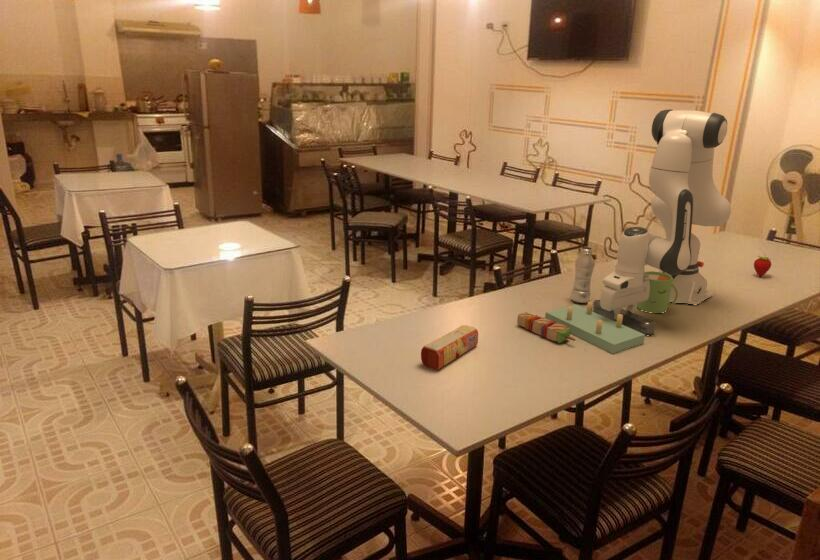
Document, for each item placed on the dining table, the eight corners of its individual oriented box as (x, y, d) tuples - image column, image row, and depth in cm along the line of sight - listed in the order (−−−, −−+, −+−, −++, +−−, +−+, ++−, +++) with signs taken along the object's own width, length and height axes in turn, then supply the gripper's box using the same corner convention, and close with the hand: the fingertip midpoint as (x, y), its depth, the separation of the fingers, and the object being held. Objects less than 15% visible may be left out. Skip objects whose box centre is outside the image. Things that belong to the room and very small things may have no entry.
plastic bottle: (573, 297, 221) (579, 244, 214) (591, 301, 218) (598, 247, 211) (567, 302, 216) (574, 248, 209) (586, 306, 212) (593, 252, 206)
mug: (633, 310, 210) (639, 278, 206) (638, 301, 219) (643, 269, 215) (673, 318, 204) (679, 284, 200) (676, 307, 213) (682, 275, 209)
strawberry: (747, 276, 247) (752, 252, 244) (756, 273, 251) (762, 250, 248) (762, 280, 243) (768, 256, 239) (771, 277, 247) (777, 253, 243)
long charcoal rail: (598, 309, 210) (600, 298, 209) (656, 334, 192) (658, 322, 190) (589, 312, 208) (591, 301, 207) (647, 337, 189) (649, 325, 188)
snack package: (461, 341, 185) (462, 320, 182) (479, 347, 181) (481, 326, 179) (419, 366, 169) (419, 344, 167) (438, 373, 165) (439, 351, 163)
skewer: (514, 327, 195) (515, 313, 193) (527, 322, 199) (528, 308, 197) (567, 350, 180) (569, 335, 178) (580, 344, 184) (582, 329, 182)
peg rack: (574, 312, 207) (577, 293, 205) (643, 343, 185) (647, 322, 183) (544, 320, 200) (546, 300, 198) (612, 353, 178) (615, 332, 176)
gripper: (641, 269, 202) (635, 308, 207) (599, 279, 192) (593, 320, 196) (657, 275, 197) (650, 314, 202) (615, 286, 187) (609, 327, 192)
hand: (622, 317), depth 199 cm, fingers closed on long charcoal rail, 3 cm apart
